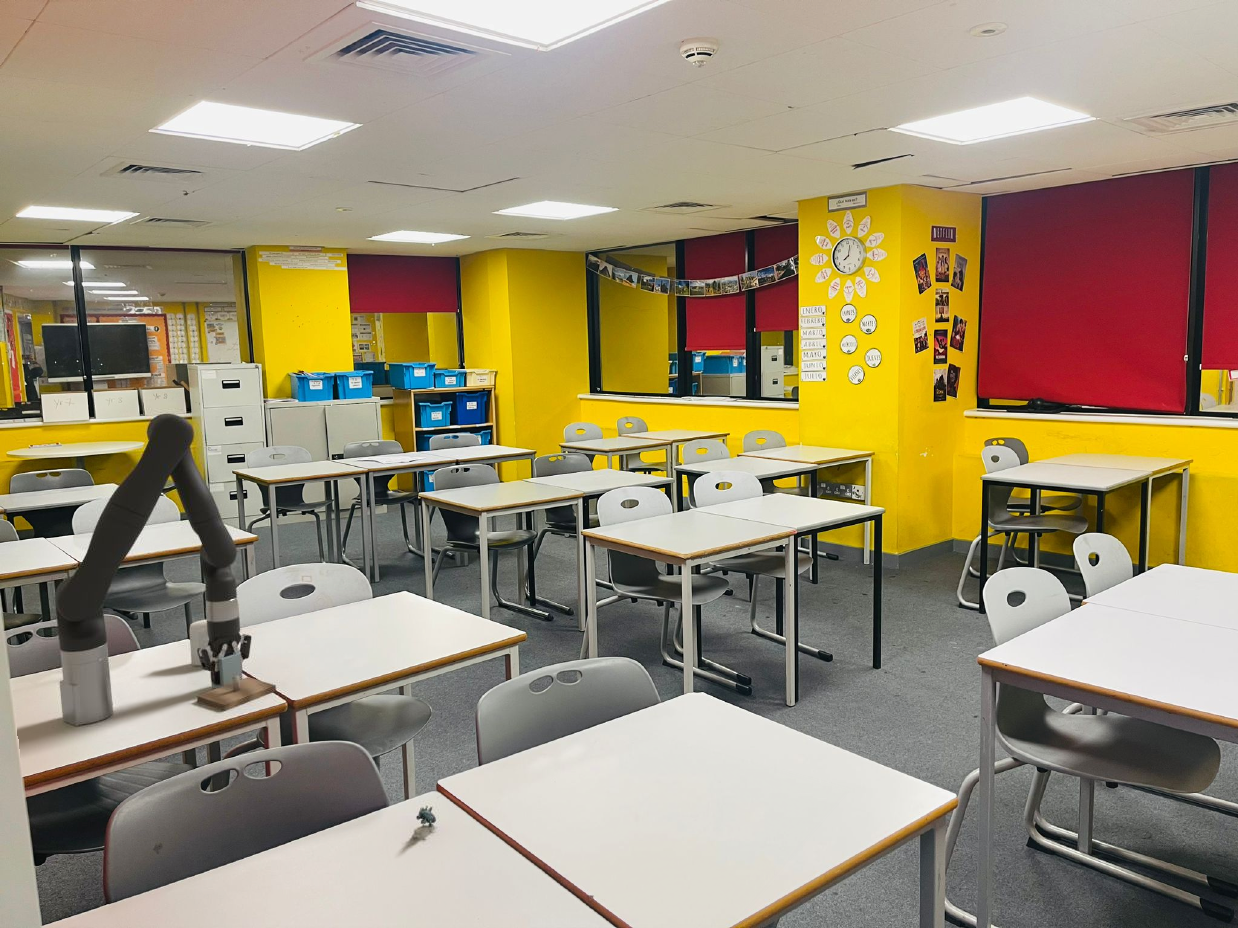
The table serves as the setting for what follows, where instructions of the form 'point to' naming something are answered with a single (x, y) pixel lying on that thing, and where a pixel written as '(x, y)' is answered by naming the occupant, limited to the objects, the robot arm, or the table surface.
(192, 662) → the white rounded block
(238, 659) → the jaw block
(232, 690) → the walnut pin plate
